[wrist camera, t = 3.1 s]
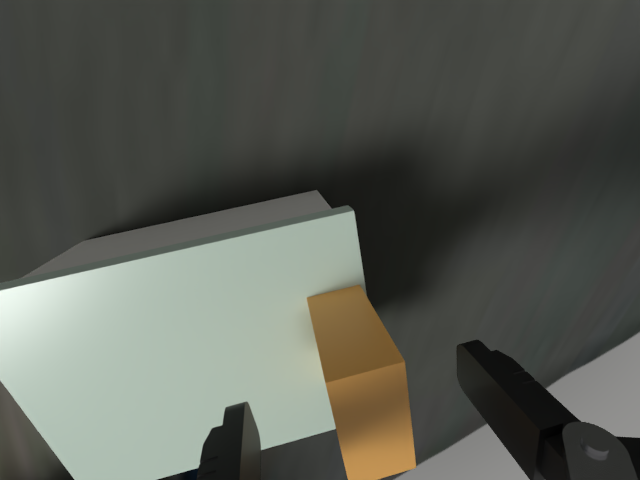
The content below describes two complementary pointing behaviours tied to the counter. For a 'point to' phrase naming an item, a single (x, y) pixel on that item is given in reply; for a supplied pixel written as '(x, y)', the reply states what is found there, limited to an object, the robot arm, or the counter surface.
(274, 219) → the tub
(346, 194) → the counter surface
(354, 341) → the lid
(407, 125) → the counter surface
